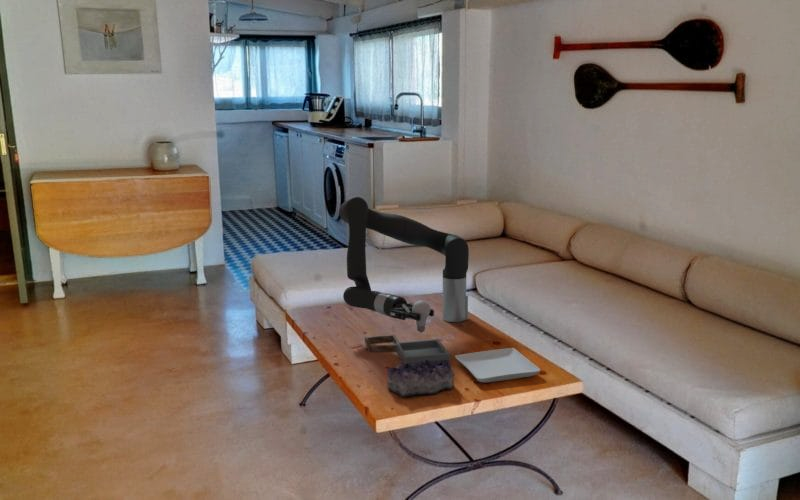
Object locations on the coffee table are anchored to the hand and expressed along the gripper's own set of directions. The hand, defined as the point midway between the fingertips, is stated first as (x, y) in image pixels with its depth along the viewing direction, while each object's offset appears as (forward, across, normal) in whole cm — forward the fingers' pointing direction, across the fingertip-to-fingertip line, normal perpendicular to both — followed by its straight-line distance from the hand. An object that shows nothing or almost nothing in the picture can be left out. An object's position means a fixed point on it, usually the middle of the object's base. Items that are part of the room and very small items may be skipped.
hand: (426, 315), depth 232 cm
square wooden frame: (-20, -1, +15) cm, 25 cm away
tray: (-2, 0, +15) cm, 15 cm away
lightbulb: (-2, 0, +7) cm, 7 cm away
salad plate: (+24, +6, +15) cm, 29 cm away
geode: (+16, -20, +15) cm, 30 cm away
